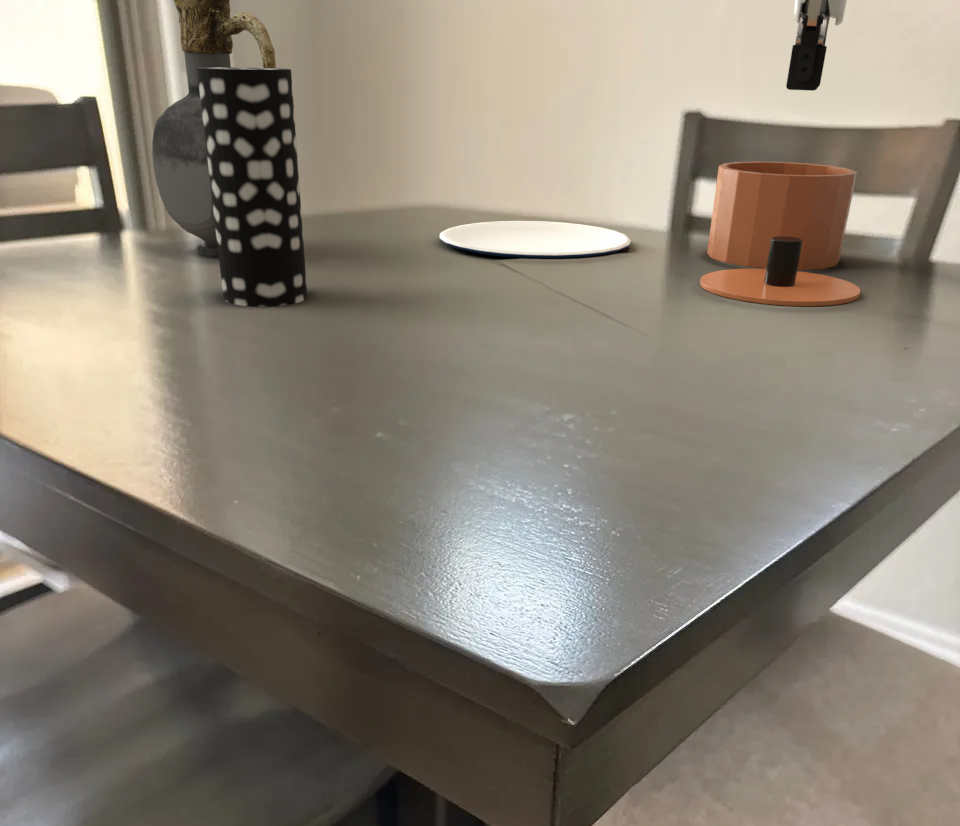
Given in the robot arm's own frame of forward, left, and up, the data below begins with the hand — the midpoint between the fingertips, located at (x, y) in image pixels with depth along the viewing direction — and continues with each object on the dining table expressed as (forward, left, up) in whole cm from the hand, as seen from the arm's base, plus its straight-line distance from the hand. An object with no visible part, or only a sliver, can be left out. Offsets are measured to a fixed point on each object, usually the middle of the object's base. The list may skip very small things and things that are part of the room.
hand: (803, 88), depth 106 cm
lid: (+7, +11, -18) cm, 23 cm away
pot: (-3, -5, -19) cm, 20 cm away
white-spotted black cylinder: (+60, -2, -19) cm, 63 cm away
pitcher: (+59, -26, -19) cm, 67 cm away
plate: (+21, -23, -19) cm, 36 cm away
